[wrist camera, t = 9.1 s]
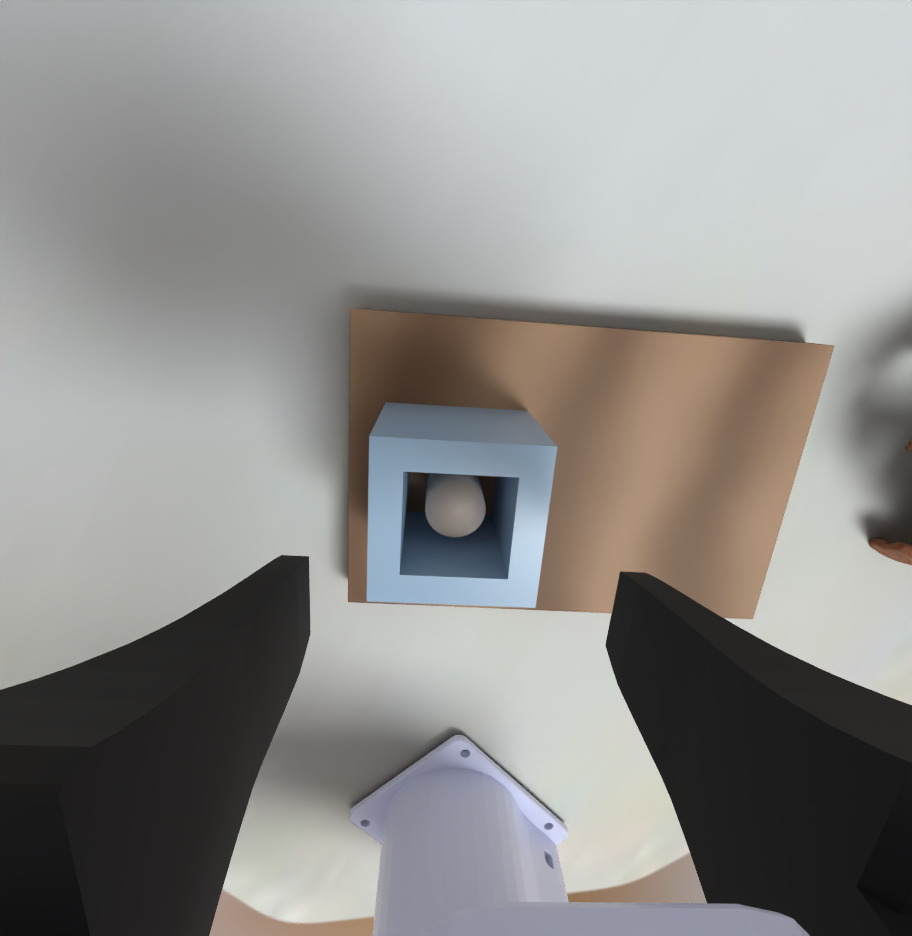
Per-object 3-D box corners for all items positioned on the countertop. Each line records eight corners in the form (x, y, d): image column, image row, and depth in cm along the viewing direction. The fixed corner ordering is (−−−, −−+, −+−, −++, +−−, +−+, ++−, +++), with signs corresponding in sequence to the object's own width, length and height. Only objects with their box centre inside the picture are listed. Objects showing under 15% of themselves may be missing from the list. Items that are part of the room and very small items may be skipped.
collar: (527, 410, 19) (557, 446, 15) (513, 538, 21) (535, 607, 16) (385, 402, 19) (369, 436, 14) (382, 532, 21) (366, 601, 16)
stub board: (806, 342, 20) (918, 355, 16) (734, 600, 24) (806, 673, 20) (356, 308, 19) (331, 311, 15) (353, 583, 23) (332, 656, 18)
